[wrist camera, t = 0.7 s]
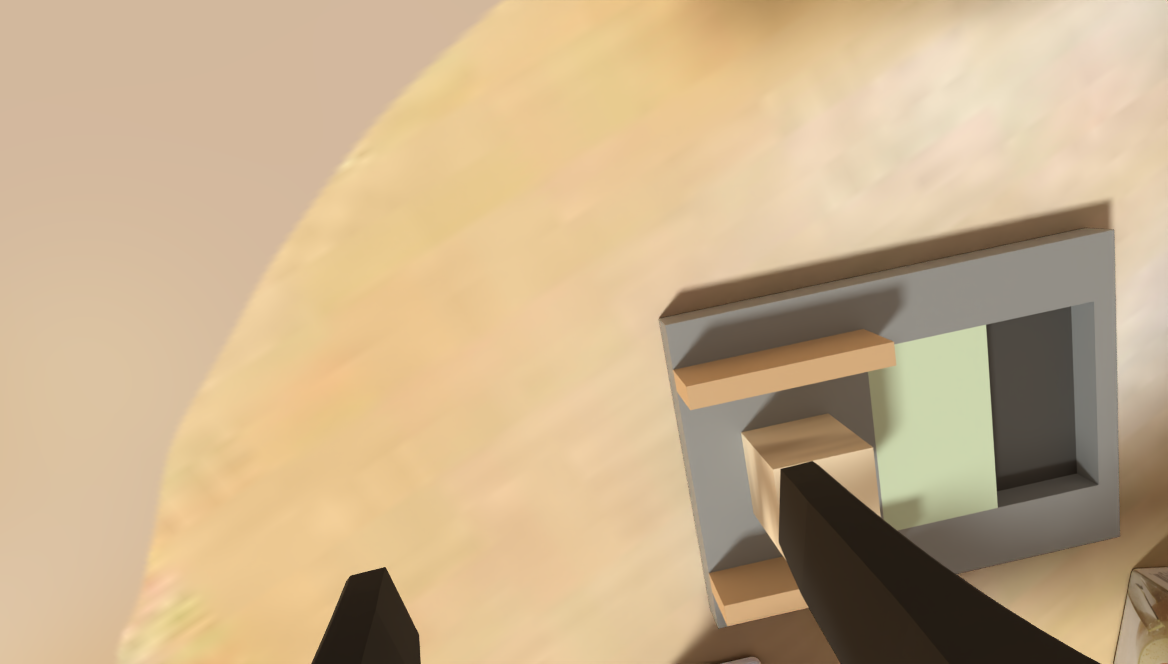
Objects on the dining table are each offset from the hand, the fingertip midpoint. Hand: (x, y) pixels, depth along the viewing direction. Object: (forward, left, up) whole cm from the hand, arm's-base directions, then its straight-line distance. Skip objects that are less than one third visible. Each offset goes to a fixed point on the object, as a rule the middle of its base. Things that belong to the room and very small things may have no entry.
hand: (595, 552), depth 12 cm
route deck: (-8, -15, -18) cm, 24 cm away
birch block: (-8, -9, -16) cm, 20 cm away
